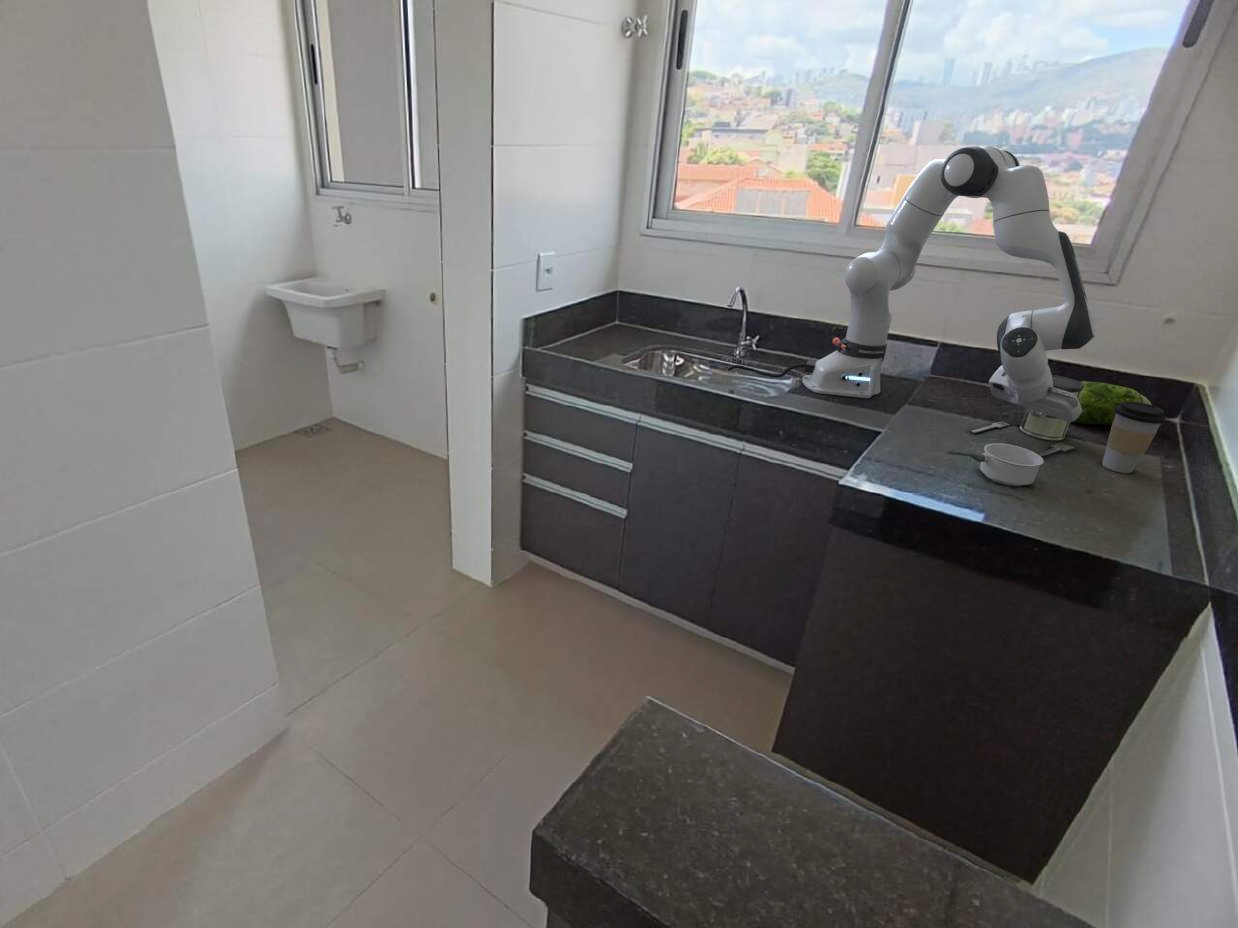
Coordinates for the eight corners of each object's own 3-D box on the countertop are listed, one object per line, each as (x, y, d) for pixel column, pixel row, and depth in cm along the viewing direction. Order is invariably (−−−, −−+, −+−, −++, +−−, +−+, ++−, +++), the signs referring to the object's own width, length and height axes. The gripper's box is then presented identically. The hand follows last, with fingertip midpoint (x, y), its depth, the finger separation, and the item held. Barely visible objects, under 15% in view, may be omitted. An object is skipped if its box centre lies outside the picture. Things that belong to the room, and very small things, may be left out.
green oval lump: (1153, 436, 172) (1171, 395, 167) (1071, 428, 174) (1087, 388, 169) (1127, 419, 182) (1144, 381, 177) (1050, 413, 184) (1064, 374, 179)
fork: (976, 435, 166) (977, 433, 166) (967, 431, 168) (968, 429, 167) (1009, 425, 173) (1010, 424, 173) (1001, 422, 175) (1001, 420, 175)
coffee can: (1011, 424, 174) (1028, 373, 168) (1049, 426, 174) (1068, 375, 168) (1032, 439, 165) (1051, 386, 159) (1073, 442, 165) (1094, 388, 159)
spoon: (1041, 460, 153) (1042, 457, 153) (1028, 455, 156) (1029, 452, 156) (1072, 449, 160) (1073, 447, 160) (1059, 444, 163) (1060, 442, 163)
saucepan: (930, 461, 149) (936, 439, 147) (1017, 467, 149) (1025, 444, 147) (951, 485, 139) (959, 461, 136) (1046, 490, 139) (1055, 467, 136)
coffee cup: (1144, 468, 152) (1171, 408, 146) (1138, 481, 146) (1166, 418, 140) (1097, 455, 158) (1121, 396, 152) (1089, 466, 152) (1113, 406, 145)
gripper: (1084, 385, 147) (1090, 419, 156) (997, 360, 163) (1007, 393, 172) (1067, 407, 147) (1074, 440, 156) (982, 380, 163) (992, 411, 172)
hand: (1038, 415), depth 164 cm, fingers closed, pressing on coffee can
